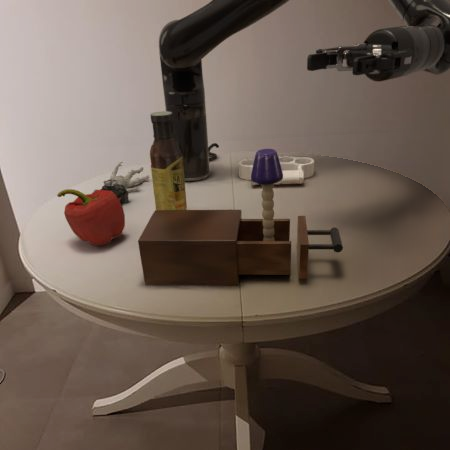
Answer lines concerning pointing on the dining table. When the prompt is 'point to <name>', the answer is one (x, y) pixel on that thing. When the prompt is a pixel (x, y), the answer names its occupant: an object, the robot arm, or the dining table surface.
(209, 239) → the cabinet
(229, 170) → the dining table surface
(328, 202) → the dining table surface
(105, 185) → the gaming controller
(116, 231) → the vegetable
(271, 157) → the toy lamp
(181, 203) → the sauce bottle
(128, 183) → the grey branched piece
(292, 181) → the white brass knuckles
